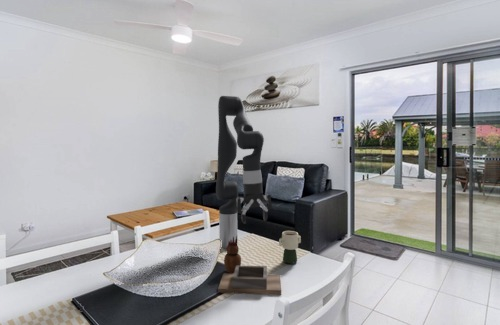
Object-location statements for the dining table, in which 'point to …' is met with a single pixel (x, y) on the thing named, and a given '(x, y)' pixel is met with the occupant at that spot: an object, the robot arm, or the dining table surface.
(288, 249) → the character mug
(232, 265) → the wooden figurine
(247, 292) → the socket stand
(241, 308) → the dining table surface
